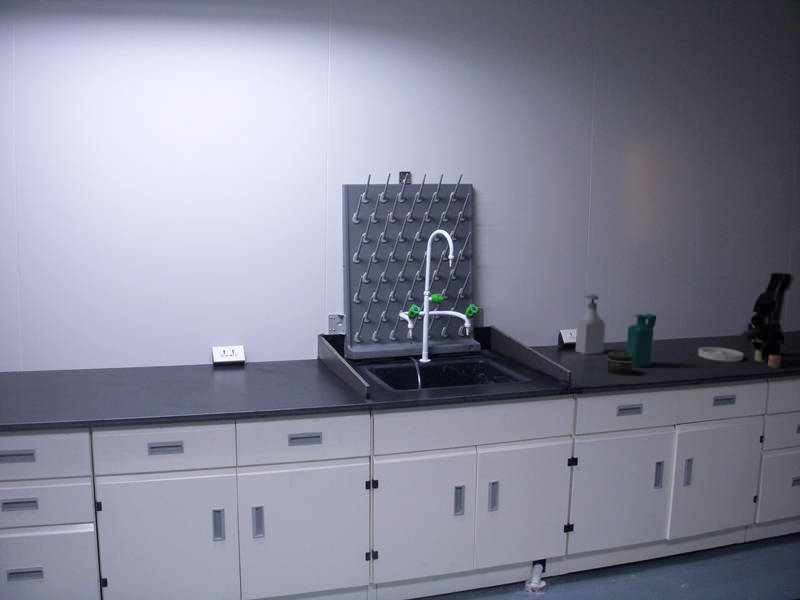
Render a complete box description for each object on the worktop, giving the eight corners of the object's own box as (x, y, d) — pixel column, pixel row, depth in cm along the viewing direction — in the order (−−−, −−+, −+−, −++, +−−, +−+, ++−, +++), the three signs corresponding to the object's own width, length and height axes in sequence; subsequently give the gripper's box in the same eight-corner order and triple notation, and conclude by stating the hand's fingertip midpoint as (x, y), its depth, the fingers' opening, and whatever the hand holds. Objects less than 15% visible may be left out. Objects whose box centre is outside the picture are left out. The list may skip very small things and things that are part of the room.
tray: (730, 353, 299) (731, 347, 299) (750, 362, 281) (751, 356, 281) (691, 351, 300) (692, 346, 299) (709, 361, 282) (709, 355, 281)
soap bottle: (591, 349, 301) (595, 292, 297) (603, 352, 294) (607, 294, 290) (572, 350, 297) (576, 293, 293) (584, 354, 289) (588, 295, 285)
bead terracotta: (775, 365, 275) (777, 354, 275) (781, 368, 271) (782, 357, 270) (765, 365, 275) (766, 354, 275) (771, 368, 271) (772, 356, 270)
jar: (611, 367, 265) (613, 350, 264) (635, 372, 259) (637, 354, 258) (602, 372, 258) (604, 354, 257) (627, 376, 251) (628, 358, 250)
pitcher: (635, 367, 267) (639, 316, 263) (623, 362, 275) (627, 313, 271) (655, 366, 269) (659, 316, 266) (642, 361, 277) (646, 312, 274)
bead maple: (762, 360, 286) (763, 349, 286) (767, 362, 282) (768, 351, 281) (752, 359, 286) (753, 349, 286) (757, 362, 282) (758, 351, 281)
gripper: (735, 320, 291) (732, 353, 293) (756, 328, 273) (753, 363, 275) (759, 321, 291) (756, 354, 293) (782, 328, 272) (778, 363, 275)
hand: (760, 358), depth 284 cm, fingers closed on bead maple, 4 cm apart
